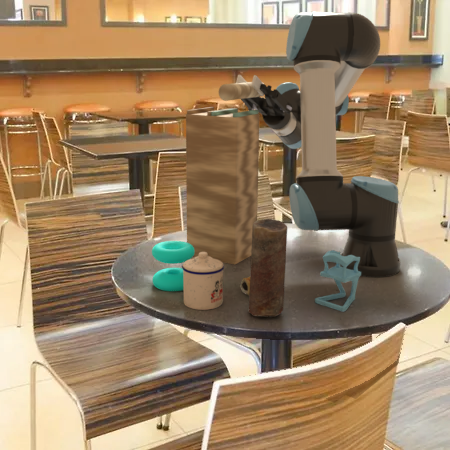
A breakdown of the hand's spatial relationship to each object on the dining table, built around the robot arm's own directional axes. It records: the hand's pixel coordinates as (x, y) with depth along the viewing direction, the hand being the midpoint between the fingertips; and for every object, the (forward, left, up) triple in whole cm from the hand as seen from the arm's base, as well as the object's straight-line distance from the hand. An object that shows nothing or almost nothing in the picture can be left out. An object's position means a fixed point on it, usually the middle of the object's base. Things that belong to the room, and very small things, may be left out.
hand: (246, 79), depth 170 cm
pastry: (-28, +13, -47) cm, 56 cm away
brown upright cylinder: (-40, +18, -47) cm, 65 cm away
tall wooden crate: (+1, +6, -47) cm, 47 cm away
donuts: (-15, +28, -47) cm, 57 cm away
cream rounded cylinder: (-1, +1, -5) cm, 5 cm away
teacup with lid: (-27, +26, -47) cm, 60 cm away
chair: (-42, 0, -47) cm, 63 cm away
